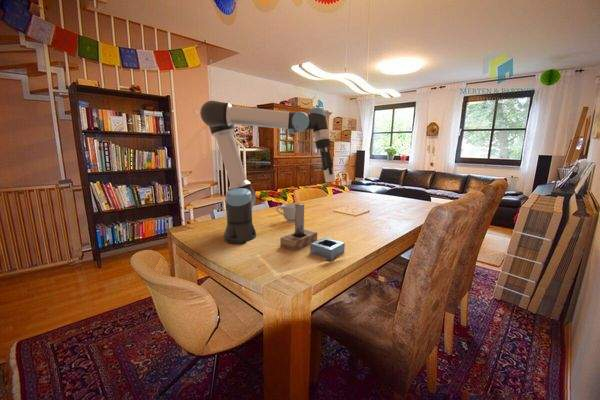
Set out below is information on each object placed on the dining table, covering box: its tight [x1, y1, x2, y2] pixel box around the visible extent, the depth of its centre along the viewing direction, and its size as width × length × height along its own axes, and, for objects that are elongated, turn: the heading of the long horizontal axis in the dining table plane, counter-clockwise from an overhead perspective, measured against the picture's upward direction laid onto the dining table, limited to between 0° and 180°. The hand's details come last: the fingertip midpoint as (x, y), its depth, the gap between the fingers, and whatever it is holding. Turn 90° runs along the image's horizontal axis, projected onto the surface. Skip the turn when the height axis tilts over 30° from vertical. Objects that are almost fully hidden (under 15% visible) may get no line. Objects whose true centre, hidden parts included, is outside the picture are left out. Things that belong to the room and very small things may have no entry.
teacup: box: [276, 202, 297, 224], centre depth 151 cm, size 12×15×10 cm
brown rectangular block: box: [279, 228, 318, 252], centre depth 114 cm, size 16×8×5 cm, turn 140°
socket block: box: [309, 236, 346, 263], centre depth 105 cm, size 10×10×5 cm
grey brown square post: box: [294, 202, 305, 238], centre depth 113 cm, size 4×4×18 cm
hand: (330, 181), depth 129 cm, fingers open, 13 cm apart
